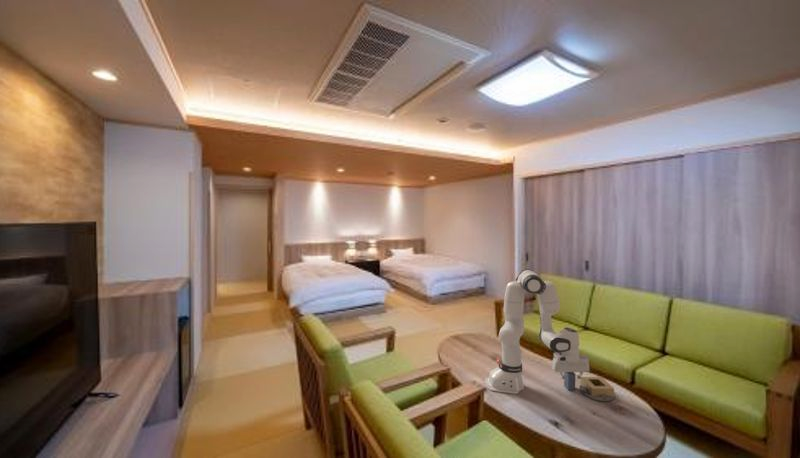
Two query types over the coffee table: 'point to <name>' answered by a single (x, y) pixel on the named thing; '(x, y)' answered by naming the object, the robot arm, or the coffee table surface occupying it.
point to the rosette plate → (597, 389)
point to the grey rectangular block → (569, 381)
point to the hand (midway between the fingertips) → (570, 378)
